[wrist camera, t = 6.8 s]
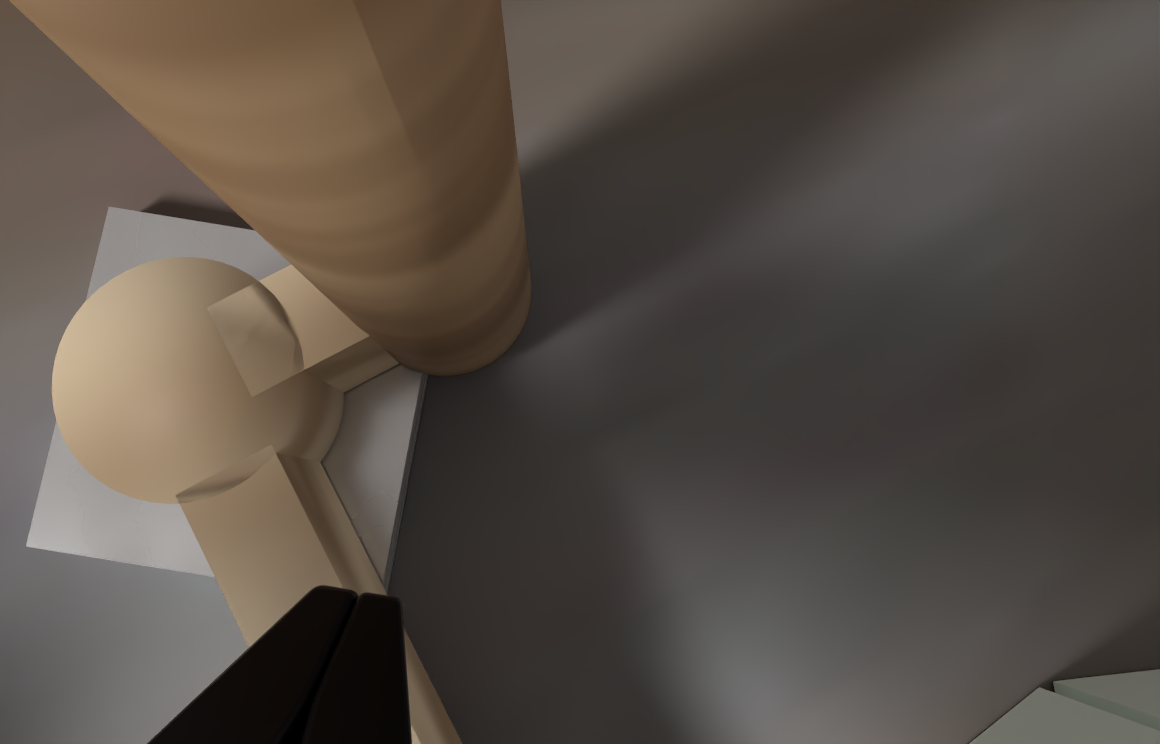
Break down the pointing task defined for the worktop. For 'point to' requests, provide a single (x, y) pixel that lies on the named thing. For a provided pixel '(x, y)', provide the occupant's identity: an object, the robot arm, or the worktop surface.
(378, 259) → the flipper lever
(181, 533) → the pivot plate
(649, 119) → the worktop surface
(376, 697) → the robot arm
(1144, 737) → the curved wall
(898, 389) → the worktop surface
